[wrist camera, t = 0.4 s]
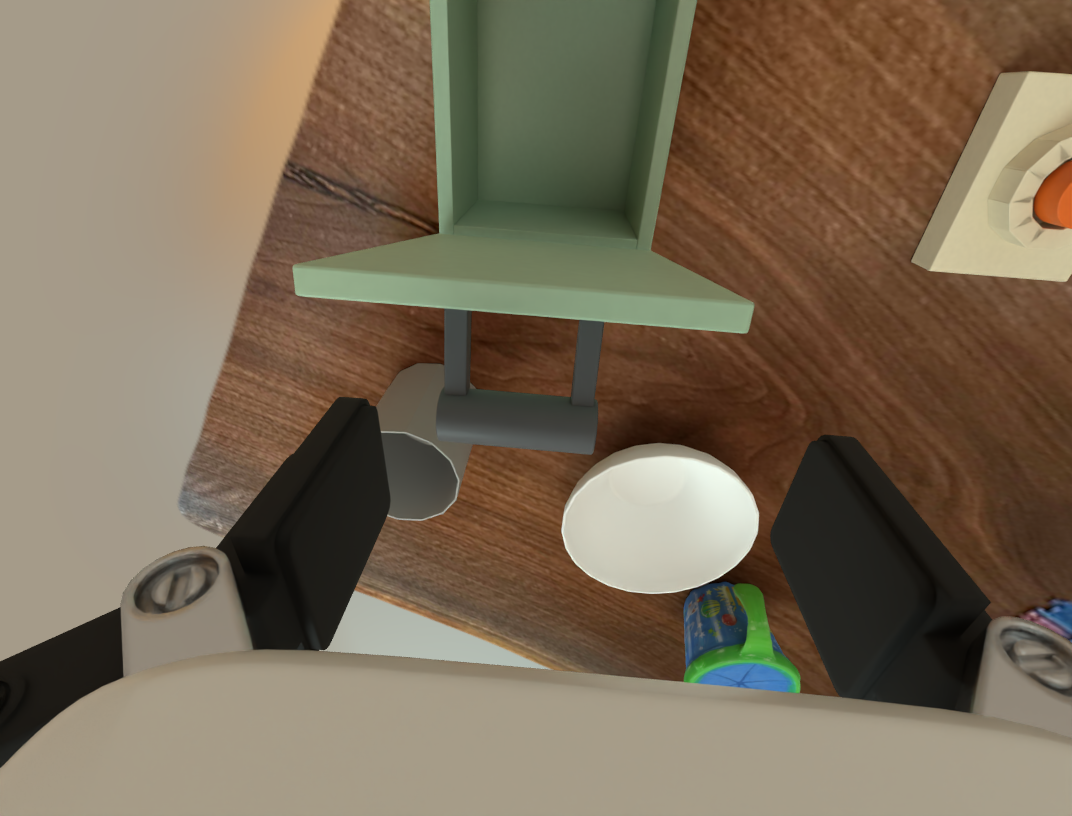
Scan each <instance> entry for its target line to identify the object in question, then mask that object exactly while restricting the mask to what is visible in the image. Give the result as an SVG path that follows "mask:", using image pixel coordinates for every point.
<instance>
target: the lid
mask: <svg viewBox="0 0 1072 816" xmlns="http://www.w3.org/2000/svg"><path fill="white" fill-rule="evenodd" d="M293 276H294V285H295V293H296V295H298V296H304V297H316V298H328V299H340V300H352V301H364V302H375V303H387V304H399V305H411V306H423V307H435V308H444V387H443V388H442V390H441V392H440V395H439V399H438V404H437V410H436V434H437V438H438V440H439V441H444V442H455V443H466V444H478V445H489V446H500V447H511V448H522V449H533V450H545V451H556V452H567V453H578V454H589V455H591V454H592V453H593V451H594V448H595V442H596V435H597V424H598V403H597V400H595V399H594V398H595V390H596V382H597V375H598V367H599V359H600V351H601V343H602V336H603V328H604V322H614V323H626V324H638V325H650V326H662V327H673V328H685V329H697V330H709V331H721V332H733V333H747V332H748V330H749V326H750V322H751V318H752V314H753V310H754V303H753V302H751V301H749V300H747V299H745V298H743V297H741V296H739V295H737V294H735V293H733V292H731V291H729V290H727V289H725V288H723V287H721V286H719V285H717V284H716V283H714V282H712V281H710V280H708V279H706V278H704V277H702V276H700V275H698V274H696V273H694V272H692V271H690V270H688V269H686V268H684V267H682V266H680V265H678V264H676V263H674V262H672V261H670V260H668V259H666V258H664V257H662V256H660V255H658V254H656V253H654V252H652V251H649V250H637V249H624V248H612V247H600V246H587V245H575V244H562V243H550V242H538V241H525V240H513V239H500V238H488V237H476V236H463V235H451V234H435V235H430V236H425V237H421V238H416V239H411V240H407V241H402V242H397V243H393V244H388V245H383V246H379V247H374V248H369V249H365V250H360V251H355V252H351V253H346V254H341V255H337V256H332V257H327V258H323V259H318V260H313V261H309V262H304V263H299V264H295V265H293ZM472 311H483V312H495V313H507V314H518V315H530V316H542V317H554V318H566V319H578V320H579V327H578V336H577V345H576V355H575V364H574V373H573V382H572V392H571V397H562V396H551V395H539V394H528V393H516V392H505V391H494V390H482V389H471V388H470V359H471V314H472Z"/></svg>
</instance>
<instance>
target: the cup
mask: <svg viewBox="0 0 1072 816" xmlns="http://www.w3.org/2000/svg"><path fill="white" fill-rule="evenodd" d="M443 387H444V365H442V364H427V363H418V364H415V365H413V366H411V367H409V368H407V369H404V370H402V371H400V372H399V373H398V375H397V376H396V378H395V379H394V380H393V382H392V383H391V385H390V386H389V388H388V389H387V391H386V392H385V394H384V395H383V397H382V399H381V400H380V402H379V403H378V405H377V406H376V408H377V411H378V416H379V423H380V430H381V436H382V443H383V450H384V457H385V463H386V470H387V477H388V483H389V490H390V497H391V502H390V509H389V512H388V515H387V516H389V517H392V518H395V519H398V520H420V521H422V520H425V519H428V518H431V517H434V516H437V515H440V514H443V513H444V512H445V511H446V510H447V509H448V508H449V507H450V506H451V505H452V504H453V503H454V502H455V501H456V499H457V496H458V493H459V489H460V486H461V482H462V479H463V475H464V472H465V469H466V465H467V462H468V458H469V455H470V452H471V448H472V445H473V444H466V443H455V442H444V441H439V440H438V438H437V434H436V410H437V404H438V399H439V395H440V392H441V390H442V388H443ZM470 388H471V389H476V388H475V387H474V386H473V385H472V384H471V383H470Z"/></svg>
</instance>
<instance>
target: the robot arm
mask: <svg viewBox="0 0 1072 816" xmlns="http://www.w3.org/2000/svg"><path fill="white" fill-rule="evenodd" d="M390 502H391V497H390V490H389V483H388V477H387V470H386V463H385V457H384V450H383V443H382V436H381V430H380V423H379V416H378V411H377V408H376V407H375V406H370V404H369V402H368V400H367V399H362V398H349V397H339V398H338V399H336V401H335V402H334V403H333V404H332V406H331V407H330V408H329V410H328V411H327V412H326V413H325V415H324V416H323V417H322V418H321V420H320V421H319V422H318V424H317V425H316V426H315V427H314V429H313V430H312V431H311V433H310V434H309V435H308V436H307V438H306V439H305V440H304V442H303V443H302V444H301V445H300V447H299V448H298V449H297V450H296V452H295V453H294V454H292V455H290V456H289V457H288V458H287V459H286V460H285V461H284V463H283V464H282V465H281V467H280V468H279V469H278V470H277V472H276V473H275V474H274V475H273V477H272V478H271V479H270V480H269V482H268V483H267V484H266V486H265V487H264V488H263V489H262V491H261V492H260V493H259V494H258V496H257V497H256V498H255V499H254V501H253V502H252V503H251V504H250V506H249V507H248V508H247V510H246V511H245V512H244V513H243V515H242V516H241V517H240V518H239V520H238V521H237V522H236V523H235V525H234V526H233V527H232V529H231V530H230V531H229V532H228V534H227V535H226V536H225V537H224V539H223V540H222V541H221V543H220V544H219V545H218V546H217V547H216V548H212V547H206V546H199V547H188V548H185V549H181V550H178V551H174V552H172V553H169V554H167V555H165V556H163V557H161V558H159V559H157V560H155V561H154V562H152V563H151V564H149V565H148V566H146V567H145V568H143V569H142V570H141V571H140V572H139V573H138V574H137V575H136V576H135V577H134V578H133V579H132V580H131V581H130V583H129V584H128V586H127V587H126V589H125V591H124V592H123V596H122V600H121V607H120V608H118V609H116V610H113V611H111V612H109V613H107V614H105V615H102V616H100V617H98V618H96V619H93V620H91V621H89V622H87V623H85V624H82V625H80V626H78V627H76V628H73V629H71V630H69V631H67V632H65V633H63V634H60V635H58V636H56V637H54V638H51V639H49V640H47V641H45V642H42V643H40V644H38V645H36V646H34V647H31V648H29V649H27V650H25V651H23V652H20V653H18V654H16V655H14V656H11V657H9V658H7V659H5V660H3V661H0V816H1072V643H1071V642H1070V641H1069V640H1067V639H1066V638H1064V637H1062V636H1060V635H1059V634H1057V633H1055V632H1054V631H1052V630H1050V629H1048V628H1046V627H1044V626H1041V625H1039V624H1036V623H1034V622H1032V621H1028V620H1024V619H1020V618H1016V617H999V618H997V619H994V620H992V619H991V618H990V616H989V615H988V614H987V613H986V611H985V608H986V607H987V606H988V605H989V604H990V603H991V602H990V601H989V599H988V598H987V597H986V596H985V595H984V593H983V592H982V591H981V590H980V589H979V587H978V586H977V585H976V584H975V582H974V581H973V580H972V579H971V578H970V576H969V575H968V574H967V573H966V572H965V570H964V569H963V568H962V567H961V565H960V564H959V563H958V562H957V561H956V559H955V558H954V557H953V556H952V555H951V553H950V552H949V551H948V550H947V548H946V547H945V546H944V545H943V544H942V542H941V541H940V540H939V539H938V538H937V536H936V535H935V534H934V533H933V531H932V530H931V529H930V528H929V527H928V525H927V524H926V523H925V522H924V521H923V519H922V518H921V517H920V516H919V514H918V513H917V512H916V511H915V510H914V508H913V507H912V506H911V505H910V504H909V502H908V501H907V500H906V499H905V497H904V496H903V495H902V494H901V493H900V491H899V490H898V489H897V488H896V487H895V485H894V484H893V483H892V482H891V480H890V479H889V478H888V477H887V476H886V474H885V473H884V472H883V471H882V469H881V468H880V467H879V466H878V465H877V463H876V462H875V461H874V460H873V459H872V457H871V456H870V455H869V454H868V452H867V451H866V450H865V449H864V448H863V446H862V445H861V444H860V443H859V442H858V440H856V439H855V438H853V437H847V436H834V435H823V436H821V437H820V438H818V440H817V441H812V442H811V443H810V444H809V446H808V448H807V450H806V452H805V455H804V457H803V459H802V461H801V464H800V466H799V468H798V470H797V473H796V475H795V477H794V479H793V482H792V484H791V486H790V488H789V491H788V493H787V495H786V497H785V500H784V502H783V504H782V506H781V509H780V511H779V513H778V516H777V518H776V520H775V522H774V525H773V527H772V530H771V535H770V537H771V544H772V547H773V550H774V552H775V554H776V556H777V559H778V561H779V563H780V565H781V568H782V570H783V572H784V575H785V577H786V579H787V581H788V584H789V586H790V588H791V590H792V593H793V595H794V597H795V600H796V602H797V604H798V606H799V609H800V611H801V613H802V615H803V618H804V620H805V622H806V625H807V627H808V629H809V631H810V634H811V636H812V638H813V640H814V643H815V645H816V647H817V650H818V652H819V654H820V656H821V659H822V661H823V663H824V665H825V668H826V670H827V672H828V675H829V677H830V679H831V681H832V684H833V686H834V688H835V690H836V692H837V693H838V694H839V696H840V697H831V696H821V695H810V694H800V693H790V692H780V691H770V690H760V689H749V688H739V687H729V686H719V685H709V684H698V683H687V682H676V681H666V680H655V679H644V678H634V677H623V676H612V675H601V674H590V673H579V672H569V671H558V670H547V669H536V668H524V667H513V666H501V665H490V664H479V663H467V662H456V661H444V660H432V659H420V658H410V657H397V656H384V655H369V654H355V653H340V652H327V651H319V650H325V649H327V648H328V646H329V645H330V643H331V641H332V639H333V637H334V634H335V632H336V630H337V628H338V625H339V623H340V621H341V618H342V616H343V614H344V612H345V610H346V607H347V605H348V603H349V601H350V598H351V596H352V594H353V592H354V589H355V587H356V585H357V583H358V580H359V578H360V576H361V574H362V571H363V569H364V567H365V565H366V562H367V560H368V558H369V556H370V553H371V551H372V549H373V547H374V544H375V542H376V540H377V537H378V535H379V533H380V531H381V528H382V526H383V524H384V522H385V519H386V517H387V515H388V512H389V509H390ZM841 697H842V698H841Z"/></svg>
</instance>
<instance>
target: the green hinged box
mask: <svg viewBox="0 0 1072 816" xmlns="http://www.w3.org/2000/svg"><path fill="white" fill-rule="evenodd" d="M696 3H697V0H430V20H431V44H432V68H433V91H434V115H435V138H436V162H437V185H438V209H439V232H440V234H451V235H463V236H476V237H488V238H500V239H513V240H525V241H538V242H550V243H562V244H575V245H587V246H600V247H612V248H624V249H637V250H649V251H650V250H651V245H652V240H653V234H654V229H655V223H656V218H657V213H658V207H659V202H660V197H661V191H662V186H663V180H664V175H665V170H666V164H667V159H668V154H669V148H670V143H671V138H672V132H673V127H674V121H675V116H676V111H677V105H678V100H679V95H680V89H681V84H682V78H683V73H684V68H685V62H686V57H687V52H688V46H689V41H690V36H691V30H692V25H693V19H694V14H695V9H696Z"/></svg>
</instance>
